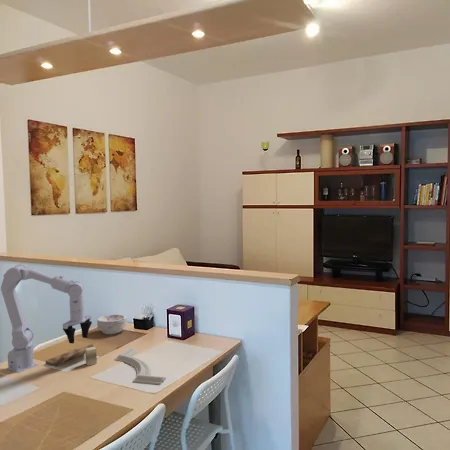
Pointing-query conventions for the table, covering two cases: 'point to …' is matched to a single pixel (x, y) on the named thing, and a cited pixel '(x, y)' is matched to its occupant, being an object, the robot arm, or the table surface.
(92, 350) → the block
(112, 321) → the paper bowls
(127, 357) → the molding
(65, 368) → the underlay
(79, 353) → the board
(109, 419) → the table surface
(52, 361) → the laid plank
